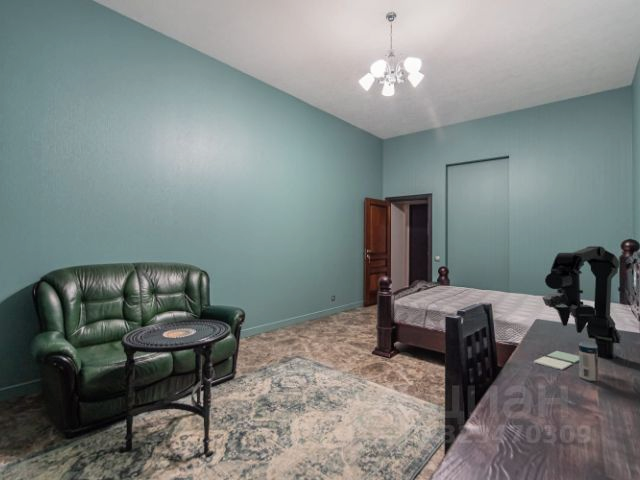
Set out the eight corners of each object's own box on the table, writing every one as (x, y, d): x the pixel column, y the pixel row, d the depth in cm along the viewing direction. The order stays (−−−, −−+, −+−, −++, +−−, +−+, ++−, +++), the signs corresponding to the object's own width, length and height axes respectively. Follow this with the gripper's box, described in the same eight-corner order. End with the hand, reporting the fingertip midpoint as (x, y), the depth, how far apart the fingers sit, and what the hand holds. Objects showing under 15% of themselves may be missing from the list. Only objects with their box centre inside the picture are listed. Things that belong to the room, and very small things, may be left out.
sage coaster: (556, 352, 131) (556, 350, 131) (583, 358, 123) (583, 357, 124) (547, 356, 126) (547, 355, 126) (574, 363, 119) (574, 361, 119)
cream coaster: (544, 357, 125) (544, 356, 125) (572, 364, 117) (572, 363, 117) (533, 362, 120) (533, 361, 120) (562, 370, 112) (561, 368, 112)
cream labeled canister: (602, 382, 102) (601, 345, 102) (585, 381, 103) (584, 344, 103) (592, 376, 107) (591, 340, 107) (576, 375, 108) (575, 340, 108)
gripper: (534, 283, 128) (535, 322, 127) (558, 290, 109) (560, 335, 109) (565, 283, 125) (566, 322, 125) (596, 290, 107) (597, 336, 107)
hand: (571, 329), depth 117 cm, fingers open, 9 cm apart
